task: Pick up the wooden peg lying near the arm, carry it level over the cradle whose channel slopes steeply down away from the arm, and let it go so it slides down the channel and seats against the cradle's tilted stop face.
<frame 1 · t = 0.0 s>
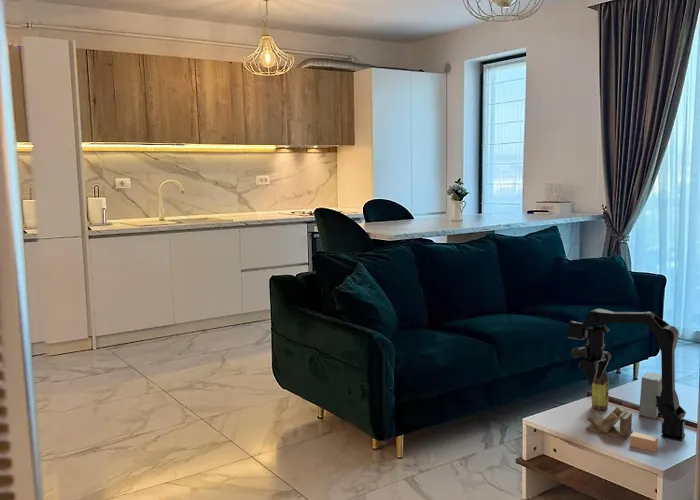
hand: (594, 381, 245), 15 cm above the table, tool pointing down, fingers open, 9 cm apart
skincare box: (650, 414, 249), on the table
peg: (643, 447, 220), on the table
cradle: (615, 432, 233), on the table
sauce bottle: (599, 408, 257), on the table
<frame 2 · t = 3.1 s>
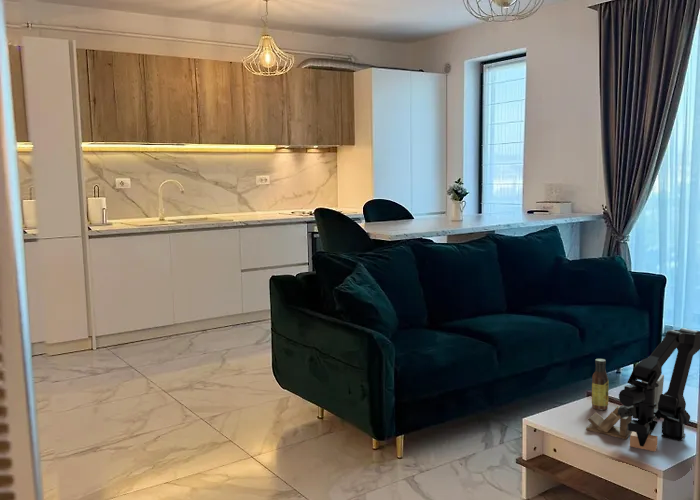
hand: (643, 443, 220), 1 cm above the table, tool pointing down, fingers closed on peg, 4 cm apart
peg: (643, 446, 220), on the table, touching gripper
everything else where it was.
when the fingers open (10 cm above the table, at t = 5.9 s): peg drops 5 cm and tips over, resting on cradle.
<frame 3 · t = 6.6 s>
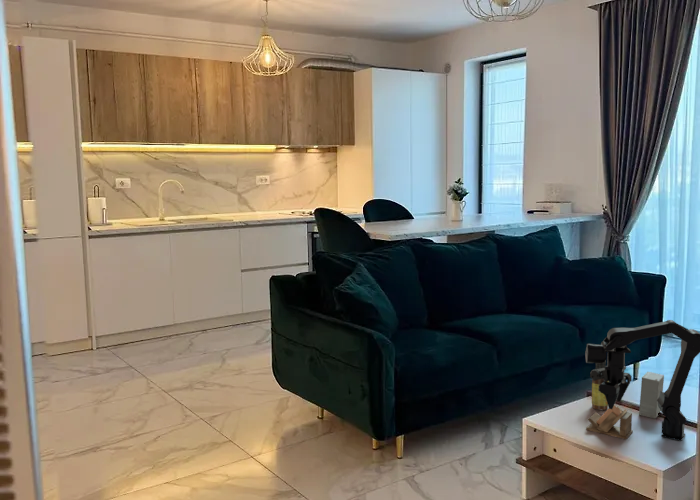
hand: (614, 405, 232), 10 cm above the table, tool pointing down, fingers open, 9 cm apart
peg: (613, 420, 232), point 4 cm above the table, tilted 55°, touching cradle
everything else where it was.
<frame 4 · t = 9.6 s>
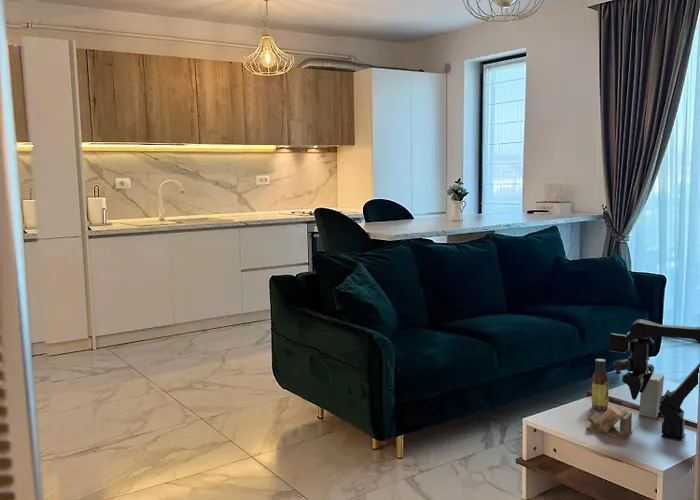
hand: (637, 395, 233), 13 cm above the table, tool pointing down, fingers open, 9 cm apart
nothing on the table moved.
at the end: peg inside the target area on the cradle (3.2 cm from its centre), point 4.4 cm above the cradle's base; the gripper is holding nothing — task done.
